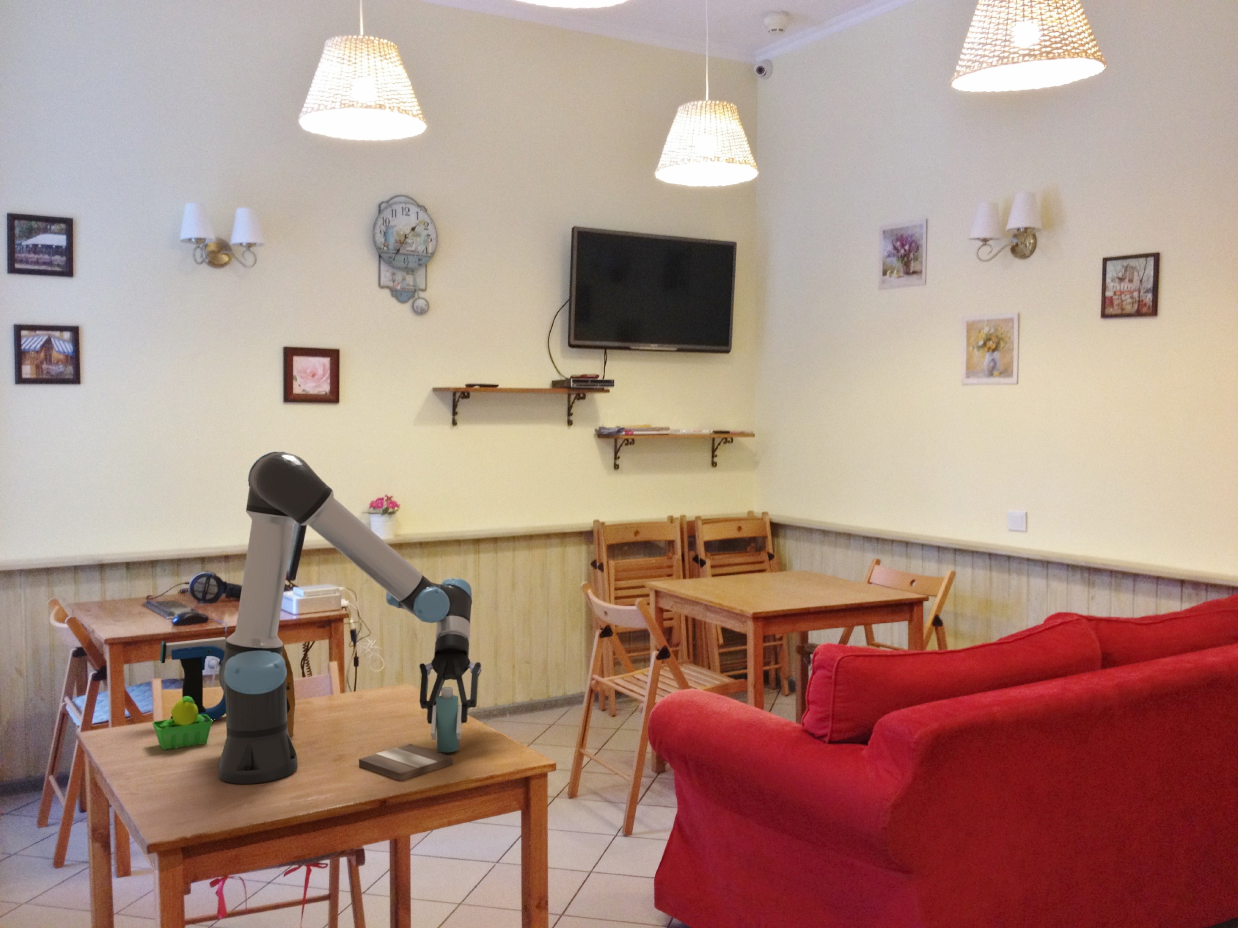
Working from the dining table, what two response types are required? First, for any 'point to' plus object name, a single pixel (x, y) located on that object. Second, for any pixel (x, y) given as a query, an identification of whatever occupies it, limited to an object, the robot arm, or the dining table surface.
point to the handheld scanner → (196, 669)
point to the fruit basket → (183, 726)
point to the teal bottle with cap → (447, 720)
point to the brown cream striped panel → (405, 762)
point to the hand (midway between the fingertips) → (446, 735)
